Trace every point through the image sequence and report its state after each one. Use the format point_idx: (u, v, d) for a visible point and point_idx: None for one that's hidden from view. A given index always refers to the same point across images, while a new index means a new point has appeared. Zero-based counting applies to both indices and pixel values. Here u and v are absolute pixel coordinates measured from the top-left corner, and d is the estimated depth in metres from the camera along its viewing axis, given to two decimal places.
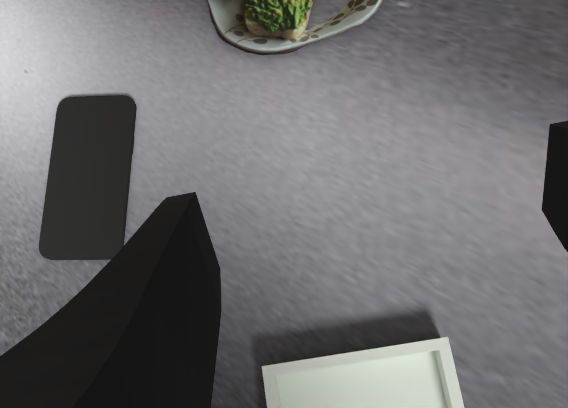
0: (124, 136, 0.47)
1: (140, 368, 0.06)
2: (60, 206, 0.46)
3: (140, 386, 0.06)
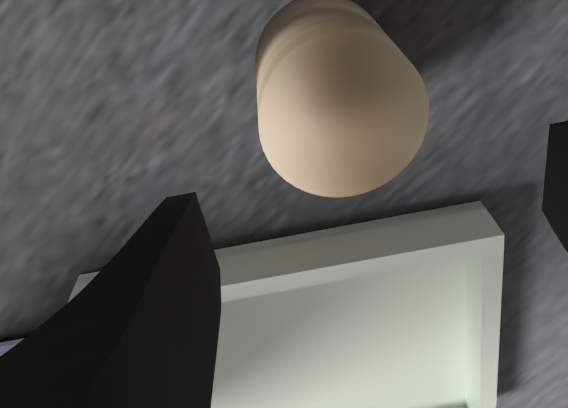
0: None
1: (140, 368, 0.06)
2: None
3: (140, 386, 0.06)
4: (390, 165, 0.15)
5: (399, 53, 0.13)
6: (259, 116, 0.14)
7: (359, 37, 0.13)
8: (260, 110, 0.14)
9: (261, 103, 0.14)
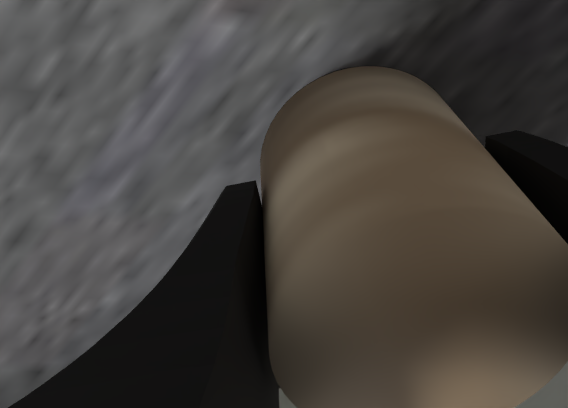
0: None
1: (238, 351, 0.06)
2: None
3: (240, 368, 0.06)
4: (503, 395, 0.08)
5: (549, 231, 0.07)
6: (270, 332, 0.07)
7: (474, 206, 0.06)
8: (272, 324, 0.07)
9: (274, 312, 0.07)
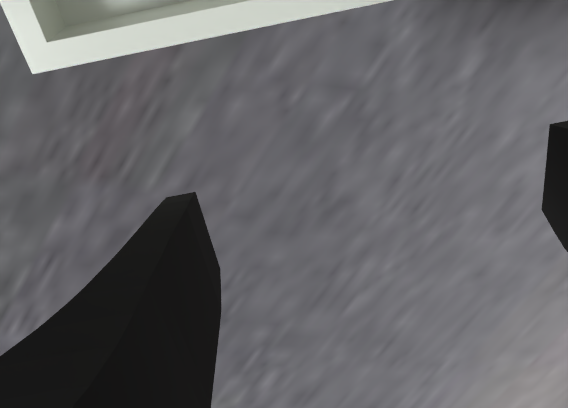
0: None
1: (140, 368, 0.06)
2: None
3: (140, 386, 0.06)
4: None
5: None
6: None
7: None
8: None
9: None
